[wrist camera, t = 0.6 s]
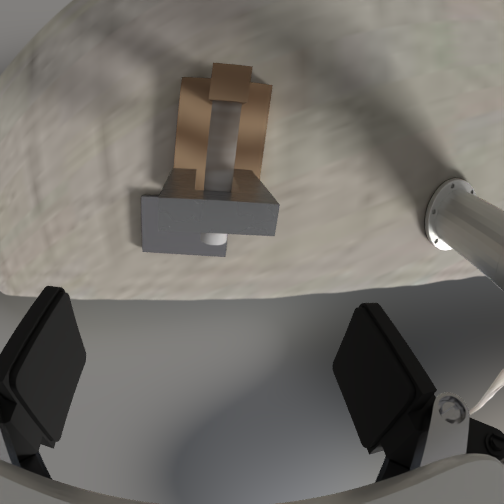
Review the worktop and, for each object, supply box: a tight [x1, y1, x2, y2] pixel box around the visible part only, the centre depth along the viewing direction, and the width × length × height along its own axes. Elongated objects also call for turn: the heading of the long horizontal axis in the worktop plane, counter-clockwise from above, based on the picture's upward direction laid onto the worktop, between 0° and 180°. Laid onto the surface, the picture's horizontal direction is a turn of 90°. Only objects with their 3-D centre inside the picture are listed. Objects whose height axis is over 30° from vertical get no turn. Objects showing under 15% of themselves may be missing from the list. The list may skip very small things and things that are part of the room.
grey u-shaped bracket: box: [158, 168, 280, 236], centre depth 23 cm, size 8×2×11 cm, turn 83°
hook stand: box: [174, 63, 272, 245], centre depth 25 cm, size 14×10×16 cm
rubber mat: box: [141, 195, 228, 257], centre depth 36 cm, size 11×8×1 cm
